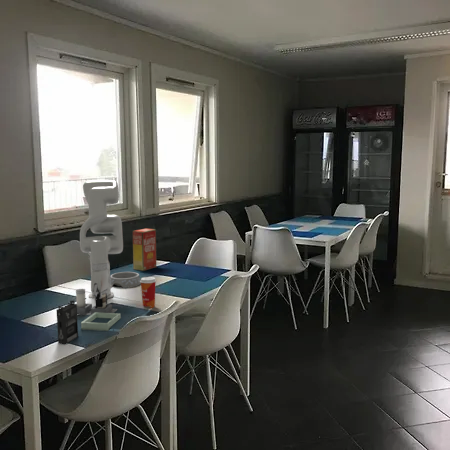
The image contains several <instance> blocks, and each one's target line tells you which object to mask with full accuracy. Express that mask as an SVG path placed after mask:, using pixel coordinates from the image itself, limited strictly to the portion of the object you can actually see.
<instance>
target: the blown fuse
mask: <svg viewBox="0 0 450 450" xmlns="http://www.w3.org/2000/svg"><path fill="white" fill-rule="evenodd" d="M97 292H99V291H97ZM98 294H99V295H100V293H98ZM102 299H103V307H97V308H103V309H105V308H106V291H105V290H104V291H102Z"/></svg>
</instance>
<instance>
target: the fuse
mask: <svg viewBox="0 0 450 450" xmlns="http://www.w3.org/2000/svg"><path fill="white" fill-rule="evenodd" d="M75 296H76V304H77V307H83V308H84V307H86V301H87V300H86V289H85V288H78V289H75Z"/></svg>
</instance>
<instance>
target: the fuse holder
mask: <svg viewBox="0 0 450 450" xmlns="http://www.w3.org/2000/svg"><path fill="white" fill-rule="evenodd" d="M117 311H118V308H113V304H108V303H107V304H106V308H105V309H103V308H97V307H96V304H95V305H94V306H93V303H86V307H84V308H83V307H77V315H82V316H83V315H84V316H85V315H86V316H91V315H92V314H94V313H95V312H98V313H115V312H117Z"/></svg>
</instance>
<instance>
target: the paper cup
mask: <svg viewBox="0 0 450 450" xmlns="http://www.w3.org/2000/svg"><path fill="white" fill-rule="evenodd" d="M140 280H141V281H140V282H141V284H140V291H141V301H142V306H143V307H146V308H147V307H149V309H153V308H155V305H156V282H157V280H156V277H154V276H145V277H140Z"/></svg>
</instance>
